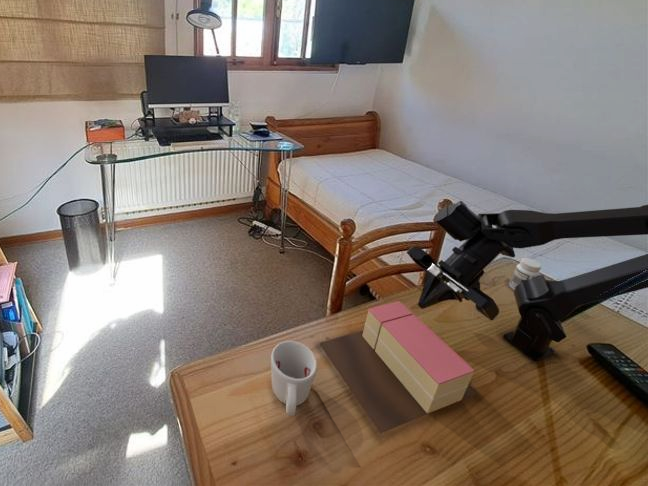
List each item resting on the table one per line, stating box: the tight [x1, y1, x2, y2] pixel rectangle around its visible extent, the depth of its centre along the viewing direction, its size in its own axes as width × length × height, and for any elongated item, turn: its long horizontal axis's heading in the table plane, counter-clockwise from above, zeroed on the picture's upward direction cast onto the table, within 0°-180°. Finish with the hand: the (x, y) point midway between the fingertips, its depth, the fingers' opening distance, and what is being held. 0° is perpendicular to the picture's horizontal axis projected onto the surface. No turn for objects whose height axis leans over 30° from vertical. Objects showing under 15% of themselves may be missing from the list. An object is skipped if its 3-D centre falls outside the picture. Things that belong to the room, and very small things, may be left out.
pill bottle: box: [509, 257, 542, 291], centre depth 88 cm, size 5×5×8 cm
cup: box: [270, 340, 318, 417], centre depth 59 cm, size 11×8×8 cm
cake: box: [375, 314, 475, 415], centre depth 63 cm, size 8×13×8 cm, turn 18°
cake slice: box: [362, 300, 414, 349], centre depth 71 cm, size 8×4×8 cm, turn 109°
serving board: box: [318, 329, 478, 434], centre depth 66 cm, size 22×18×1 cm
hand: (419, 307), depth 72 cm, fingers closed
